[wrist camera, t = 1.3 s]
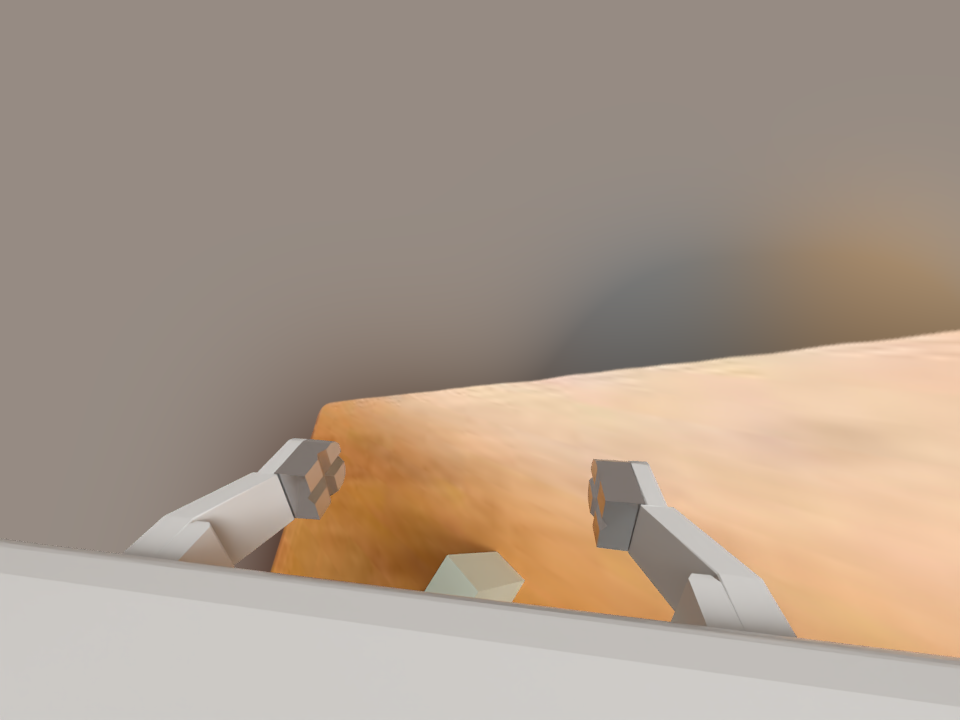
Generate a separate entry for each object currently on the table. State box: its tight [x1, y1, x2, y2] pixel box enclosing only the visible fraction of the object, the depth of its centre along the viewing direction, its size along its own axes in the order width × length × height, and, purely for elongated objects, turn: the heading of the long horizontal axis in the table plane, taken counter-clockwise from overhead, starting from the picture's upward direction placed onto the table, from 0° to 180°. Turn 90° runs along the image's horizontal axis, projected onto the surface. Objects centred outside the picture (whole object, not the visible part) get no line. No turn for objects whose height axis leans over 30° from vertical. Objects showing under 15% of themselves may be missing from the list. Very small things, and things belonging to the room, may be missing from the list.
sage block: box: [424, 552, 525, 602], centre depth 40 cm, size 5×5×12 cm
